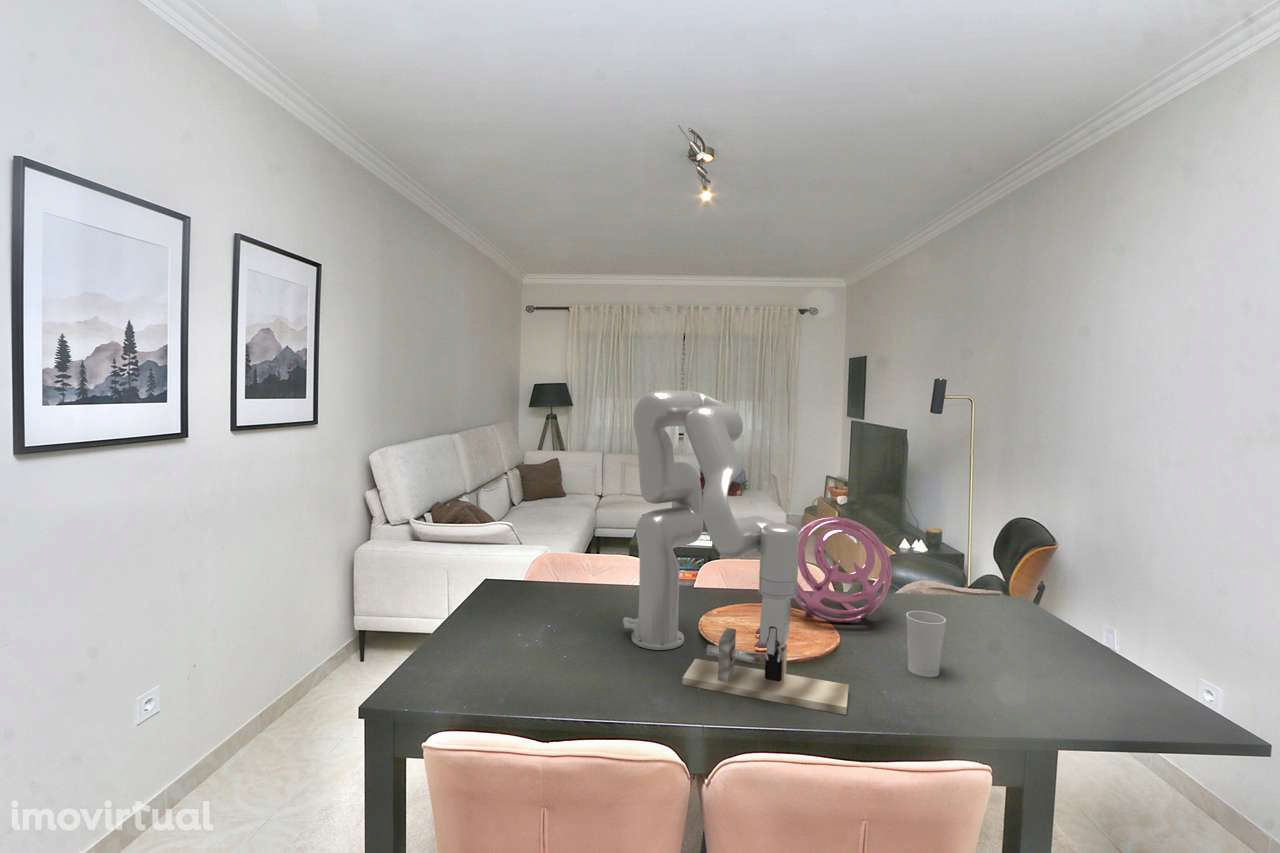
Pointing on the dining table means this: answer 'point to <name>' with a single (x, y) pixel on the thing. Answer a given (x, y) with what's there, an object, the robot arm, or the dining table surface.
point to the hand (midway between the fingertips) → (774, 673)
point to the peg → (751, 656)
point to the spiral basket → (833, 574)
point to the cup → (924, 642)
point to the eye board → (764, 682)
